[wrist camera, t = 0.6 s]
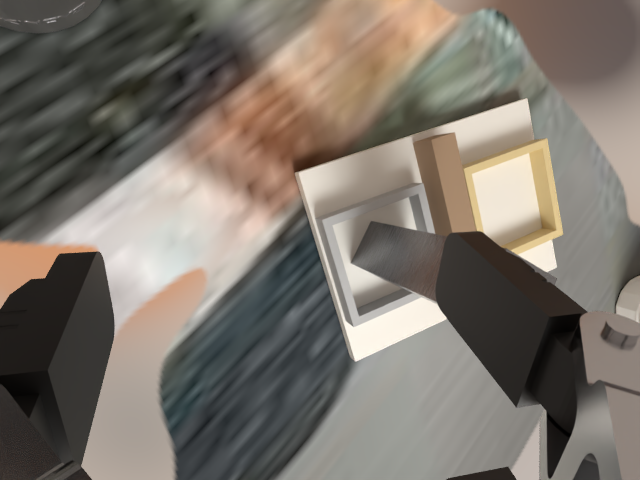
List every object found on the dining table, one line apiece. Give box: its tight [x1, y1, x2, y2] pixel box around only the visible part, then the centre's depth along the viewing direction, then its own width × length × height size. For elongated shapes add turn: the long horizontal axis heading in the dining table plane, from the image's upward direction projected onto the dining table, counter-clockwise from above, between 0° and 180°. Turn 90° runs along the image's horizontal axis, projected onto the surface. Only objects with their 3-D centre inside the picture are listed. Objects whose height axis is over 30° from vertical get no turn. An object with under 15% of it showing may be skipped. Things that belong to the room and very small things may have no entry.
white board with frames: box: [295, 98, 563, 362], centre depth 35 cm, size 20×15×4 cm
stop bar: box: [351, 221, 557, 304], centre depth 27 cm, size 4×4×14 cm
